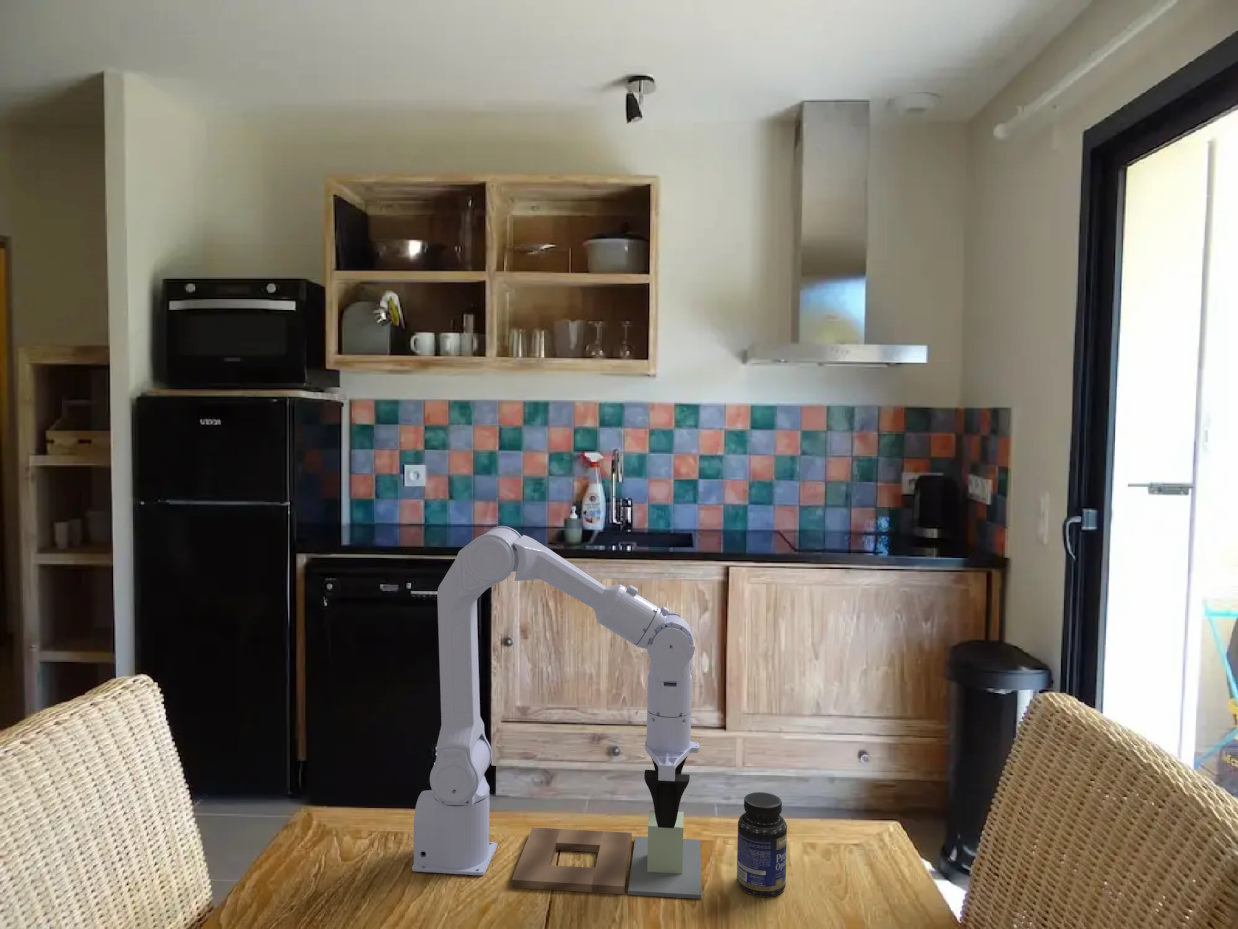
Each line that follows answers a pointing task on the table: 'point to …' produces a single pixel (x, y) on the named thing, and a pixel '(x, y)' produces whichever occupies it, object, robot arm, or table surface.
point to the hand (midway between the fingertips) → (666, 813)
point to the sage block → (665, 846)
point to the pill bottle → (762, 846)
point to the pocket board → (543, 875)
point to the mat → (666, 882)
